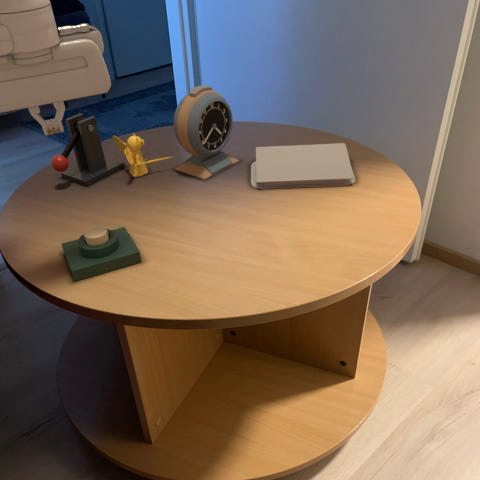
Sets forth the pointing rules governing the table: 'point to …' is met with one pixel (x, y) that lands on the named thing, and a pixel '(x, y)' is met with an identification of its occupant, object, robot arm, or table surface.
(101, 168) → the switch bracket
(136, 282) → the table surface
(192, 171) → the alarm clock
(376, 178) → the table surface
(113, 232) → the control block
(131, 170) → the figurine
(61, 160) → the switch lever
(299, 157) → the book
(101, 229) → the button
